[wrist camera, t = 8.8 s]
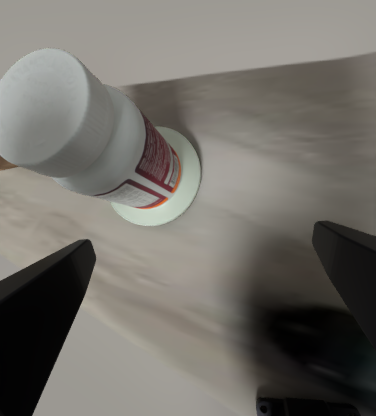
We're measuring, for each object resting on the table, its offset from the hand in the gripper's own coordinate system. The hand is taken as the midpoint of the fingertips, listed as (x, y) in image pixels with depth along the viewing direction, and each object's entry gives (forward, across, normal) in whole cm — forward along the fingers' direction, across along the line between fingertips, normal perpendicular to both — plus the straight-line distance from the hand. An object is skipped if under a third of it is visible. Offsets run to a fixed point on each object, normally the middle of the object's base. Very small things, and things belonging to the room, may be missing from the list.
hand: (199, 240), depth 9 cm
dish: (+12, +4, +1) cm, 13 cm away
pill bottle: (+12, +4, +1) cm, 12 cm away
